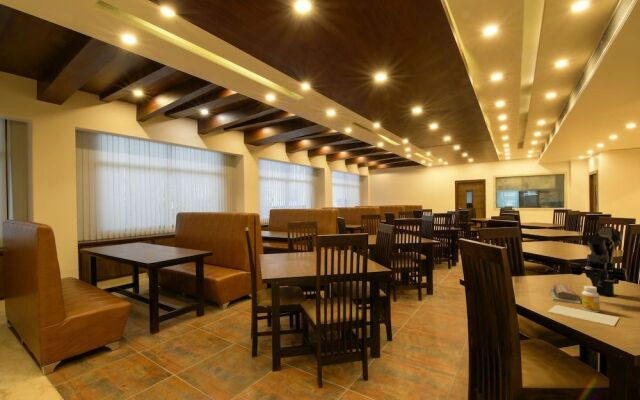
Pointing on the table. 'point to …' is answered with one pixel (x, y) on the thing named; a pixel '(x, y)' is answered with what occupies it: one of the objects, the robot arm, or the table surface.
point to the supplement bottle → (590, 299)
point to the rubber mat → (584, 315)
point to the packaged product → (563, 294)
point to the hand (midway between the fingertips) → (594, 287)
